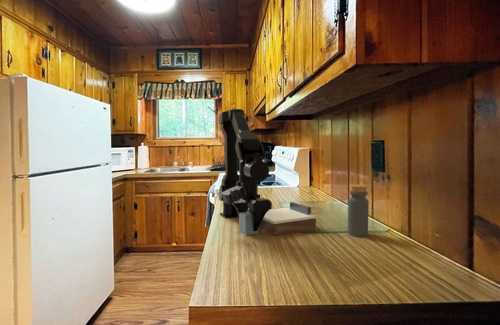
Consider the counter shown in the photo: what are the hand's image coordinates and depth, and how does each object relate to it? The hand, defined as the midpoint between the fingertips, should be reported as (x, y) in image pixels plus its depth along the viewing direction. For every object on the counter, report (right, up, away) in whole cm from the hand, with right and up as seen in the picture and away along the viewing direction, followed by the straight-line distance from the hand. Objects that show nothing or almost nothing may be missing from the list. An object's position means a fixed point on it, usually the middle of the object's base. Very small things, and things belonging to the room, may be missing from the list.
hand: (248, 227), depth 93 cm
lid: (+12, +3, +6) cm, 13 cm away
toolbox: (+12, -1, +6) cm, 13 cm away
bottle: (+34, -2, -2) cm, 34 cm away
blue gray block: (0, -2, 0) cm, 2 cm away
